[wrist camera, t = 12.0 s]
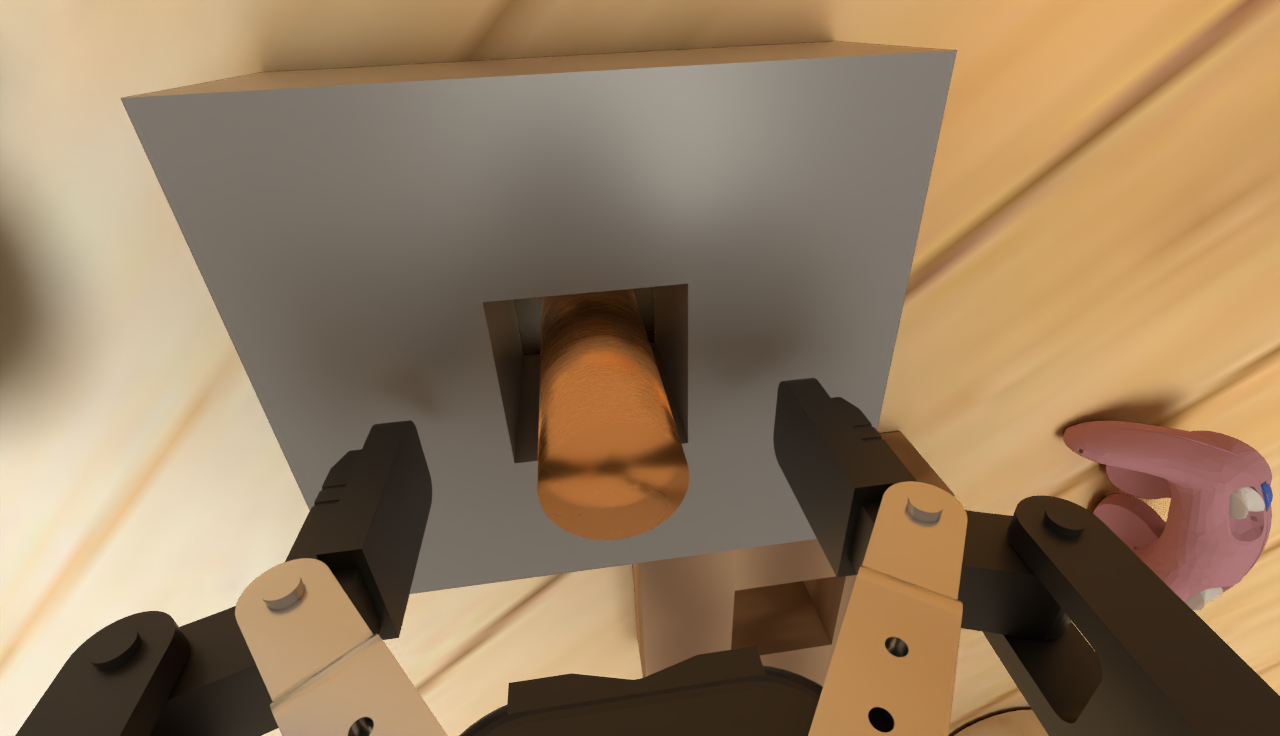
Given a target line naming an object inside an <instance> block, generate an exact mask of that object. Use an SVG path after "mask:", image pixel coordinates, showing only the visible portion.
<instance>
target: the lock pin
mask: <svg viewBox="0 0 1280 736" xmlns="http://www.w3.org/2000/svg"><path fill="white" fill-rule="evenodd" d="M689 477H690V476H689V467H688V464H687V460H686V457H685V454H684V450H683V447H682V444H681V441H680V438H679V435H678V431H677V428H676V425H675V422H674V419H673V415H672V412H671V409H670V406H669V403H668V399H667V396H666V393H665V390H664V387H663V384H662V380H661V377H660V374H659V371H658V368H657V364H656V361H655V358H654V355H653V352H652V348H651V345H650V342H649V339H648V336H647V332H646V329H645V326H644V323H643V320H642V317H641V313H640V310H639V307H638V304H637V301H636V297H635V294H634V291H633V289H624V290H613V291H602V292H591V293H580V294H569V295H558V296H547V297H542V310H541V350H540V390H539V430H538V471H537V492H538V498H539V502H540V504H541V506H542V508H543V510H544V512H545V513H546V515H547V516H548V517H549V518H550V519H551V520H552V521H553V522H554V523H555V524H556V525H558V526H559V527H560V528H562V529H564V530H565V531H567V532H569V533H572V534H574V535H577V536H580V537H584V538H588V539H595V540H617V539H624V538H629V537H633V536H636V535H639V534H642V533H644V532H647V531H649V530H651V529H653V528H655V527H656V526H658V525H660V524H661V523H663V522H664V521H665V520H666V519H668V518H669V517H670V516H671V515H672V514H673V513H674V512H675V511H676V509H677V508H678V507H679V506H680V504H681V503H682V501H683V499H684V497H685V495H686V492H687V489H688V485H689Z"/></svg>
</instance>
